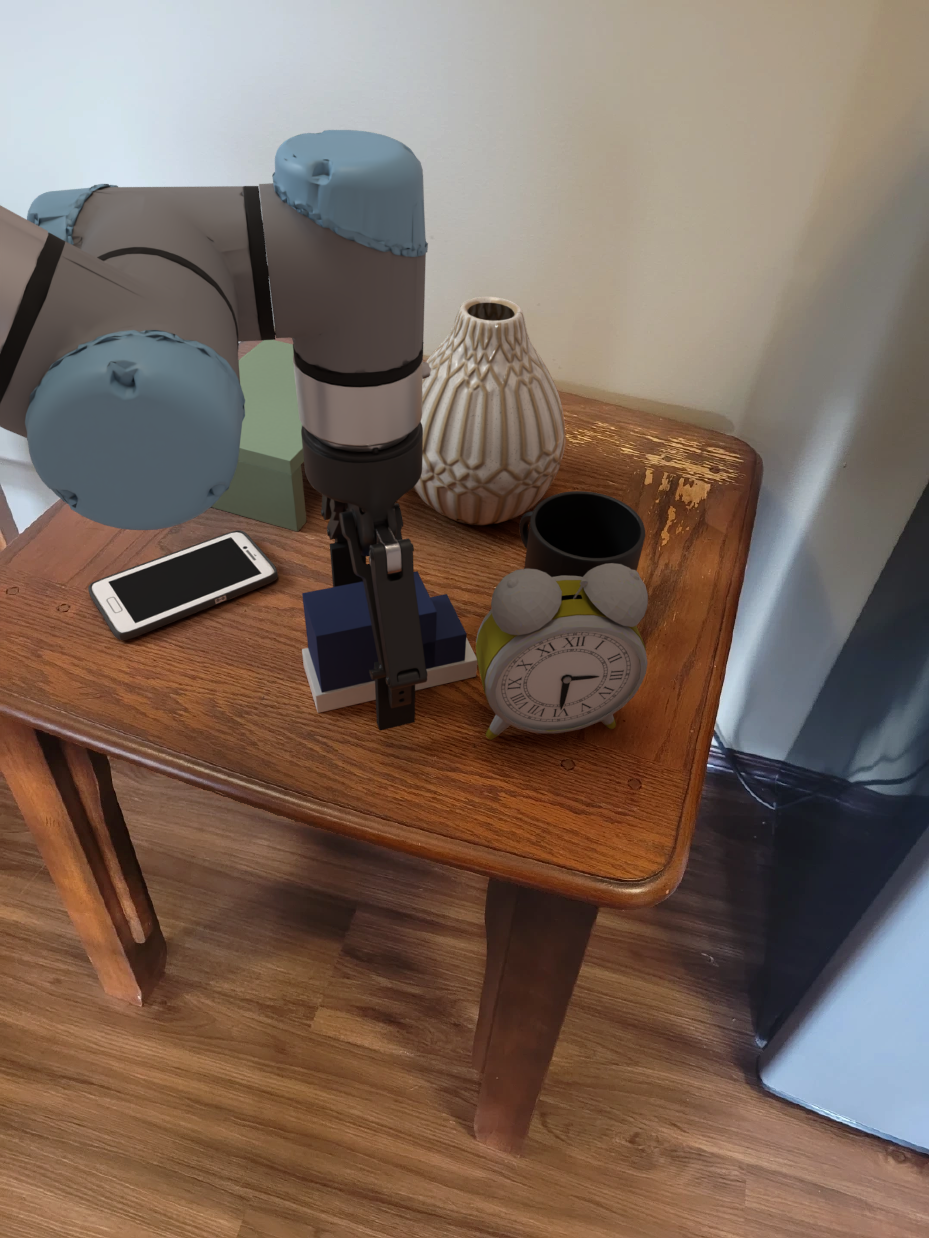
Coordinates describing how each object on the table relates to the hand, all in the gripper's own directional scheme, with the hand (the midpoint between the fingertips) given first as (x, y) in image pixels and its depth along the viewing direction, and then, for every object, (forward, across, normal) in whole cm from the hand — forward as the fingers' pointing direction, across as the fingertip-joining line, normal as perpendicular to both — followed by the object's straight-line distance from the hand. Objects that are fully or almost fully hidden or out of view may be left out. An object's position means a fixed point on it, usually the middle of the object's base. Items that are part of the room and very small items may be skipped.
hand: (372, 659), depth 67 cm
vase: (+2, +20, -16) cm, 26 cm away
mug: (+2, +4, -19) cm, 19 cm away
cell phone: (+2, +15, +13) cm, 20 cm away
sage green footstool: (+2, +32, +1) cm, 32 cm away
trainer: (+2, 0, -2) cm, 2 cm away
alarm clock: (+2, -8, -12) cm, 14 cm away
